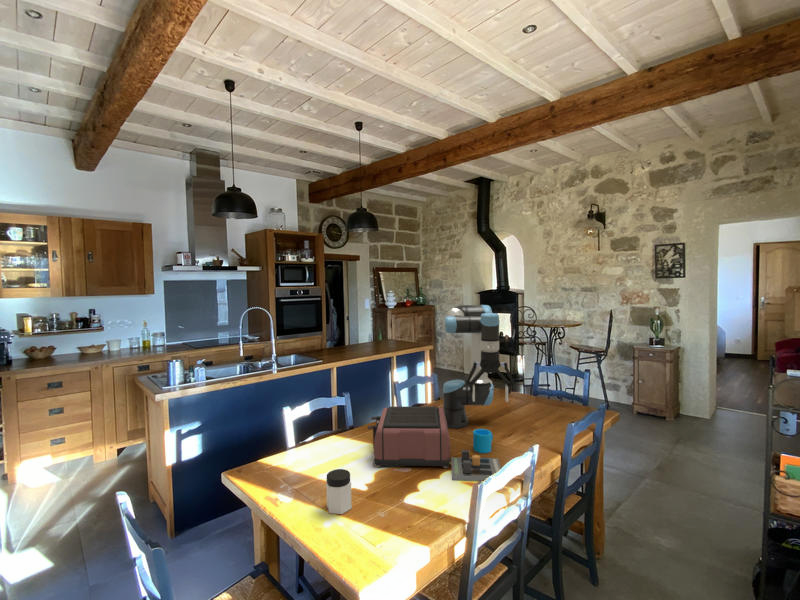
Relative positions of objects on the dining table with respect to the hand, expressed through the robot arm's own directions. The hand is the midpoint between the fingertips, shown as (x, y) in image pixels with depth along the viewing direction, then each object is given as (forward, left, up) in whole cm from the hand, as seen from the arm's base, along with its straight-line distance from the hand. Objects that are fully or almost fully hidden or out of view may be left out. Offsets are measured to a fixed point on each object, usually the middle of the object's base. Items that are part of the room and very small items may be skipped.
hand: (490, 400), depth 169 cm
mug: (-18, 0, -28) cm, 34 cm away
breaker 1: (0, -10, -26) cm, 28 cm away
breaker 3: (+5, -6, -26) cm, 27 cm away
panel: (+5, -6, -28) cm, 29 cm away
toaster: (-11, -35, -28) cm, 47 cm away
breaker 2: (+10, -10, -26) cm, 29 cm away
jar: (+35, -56, -28) cm, 72 cm away
